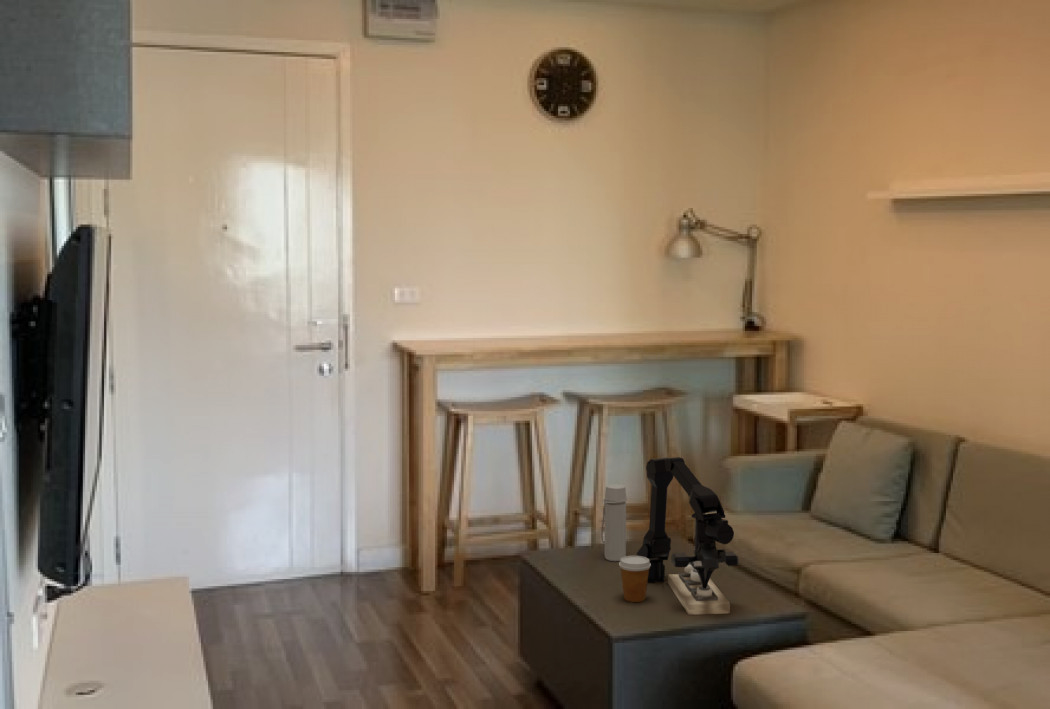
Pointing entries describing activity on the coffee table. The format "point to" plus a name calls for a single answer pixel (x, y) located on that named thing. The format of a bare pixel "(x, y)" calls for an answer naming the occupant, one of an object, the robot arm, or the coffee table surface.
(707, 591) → the front knob
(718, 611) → the knob console
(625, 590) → the disposable coffee cup
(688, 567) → the back knob
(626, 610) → the coffee table surface
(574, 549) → the coffee table surface
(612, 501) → the water bottle
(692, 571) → the middle knob
